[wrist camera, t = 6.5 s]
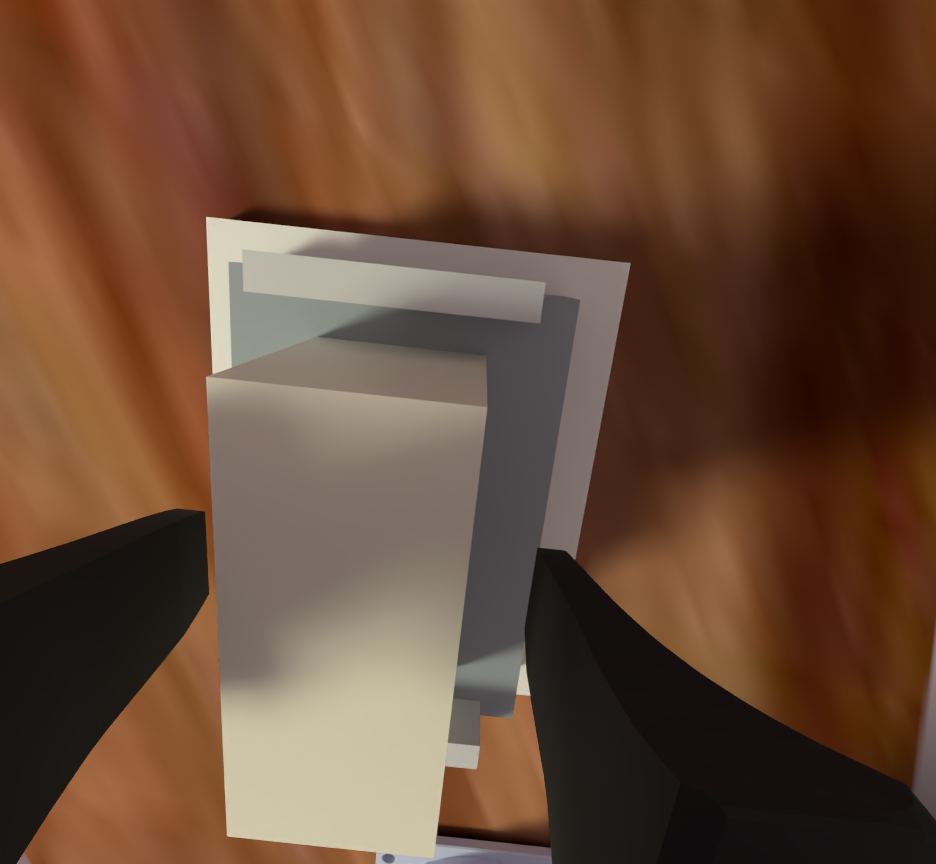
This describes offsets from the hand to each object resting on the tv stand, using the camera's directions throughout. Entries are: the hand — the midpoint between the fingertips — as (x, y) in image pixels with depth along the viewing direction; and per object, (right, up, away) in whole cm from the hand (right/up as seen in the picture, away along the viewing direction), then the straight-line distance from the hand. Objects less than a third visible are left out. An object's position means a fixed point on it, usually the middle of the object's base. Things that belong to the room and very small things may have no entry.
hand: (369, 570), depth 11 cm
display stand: (0, +2, +5) cm, 5 cm away
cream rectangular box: (0, +1, +2) cm, 2 cm away
